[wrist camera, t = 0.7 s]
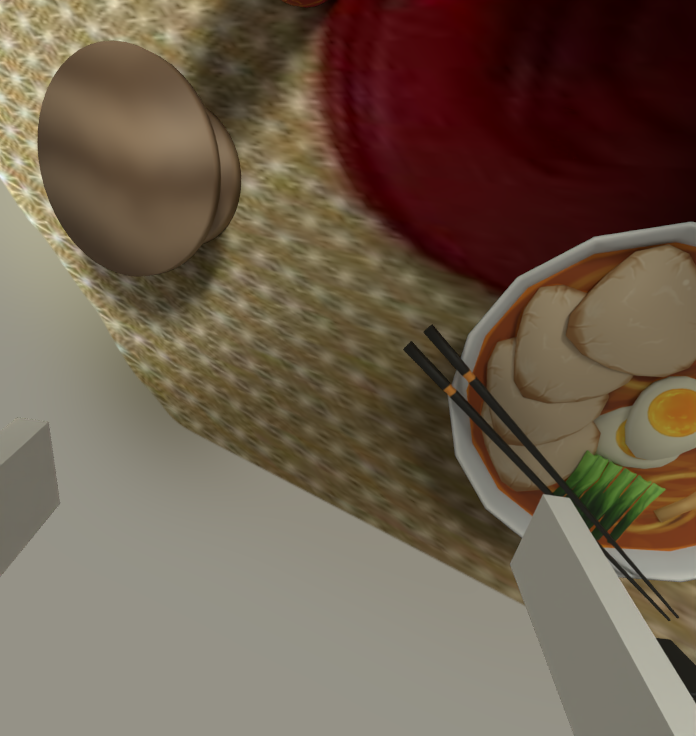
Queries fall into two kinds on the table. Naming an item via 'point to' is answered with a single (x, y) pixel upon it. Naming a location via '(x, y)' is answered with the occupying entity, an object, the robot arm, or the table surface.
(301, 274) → the table surface
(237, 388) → the table surface
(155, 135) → the cake stand
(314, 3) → the canned food
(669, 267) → the ramen bowl
